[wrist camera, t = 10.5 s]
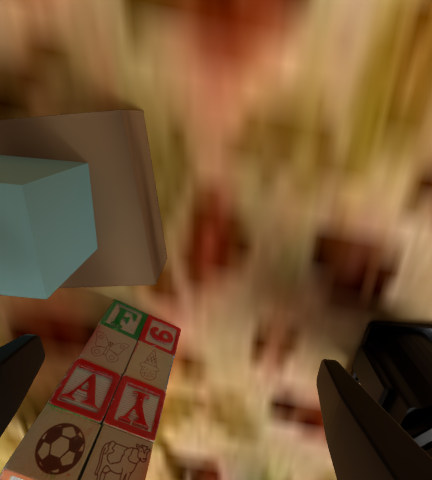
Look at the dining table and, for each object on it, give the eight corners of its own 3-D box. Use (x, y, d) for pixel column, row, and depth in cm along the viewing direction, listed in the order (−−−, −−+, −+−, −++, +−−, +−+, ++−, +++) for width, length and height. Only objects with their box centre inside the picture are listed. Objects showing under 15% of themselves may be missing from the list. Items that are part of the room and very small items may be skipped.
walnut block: (145, 110, 17) (121, 109, 13) (168, 255, 21) (155, 284, 17) (-8, 123, 18) (-70, 125, 14) (43, 260, 22) (6, 289, 18)
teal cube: (88, 162, 14) (21, 185, 10) (97, 248, 16) (46, 299, 12) (-7, 154, 14) (-116, 172, 10) (15, 240, 17) (-67, 288, 12)
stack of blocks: (101, 450, 32) (31, 633, 21) (49, 431, 31) (-56, 612, 20) (182, 327, 23) (138, 520, 12) (114, 295, 22) (-3, 475, 11)
